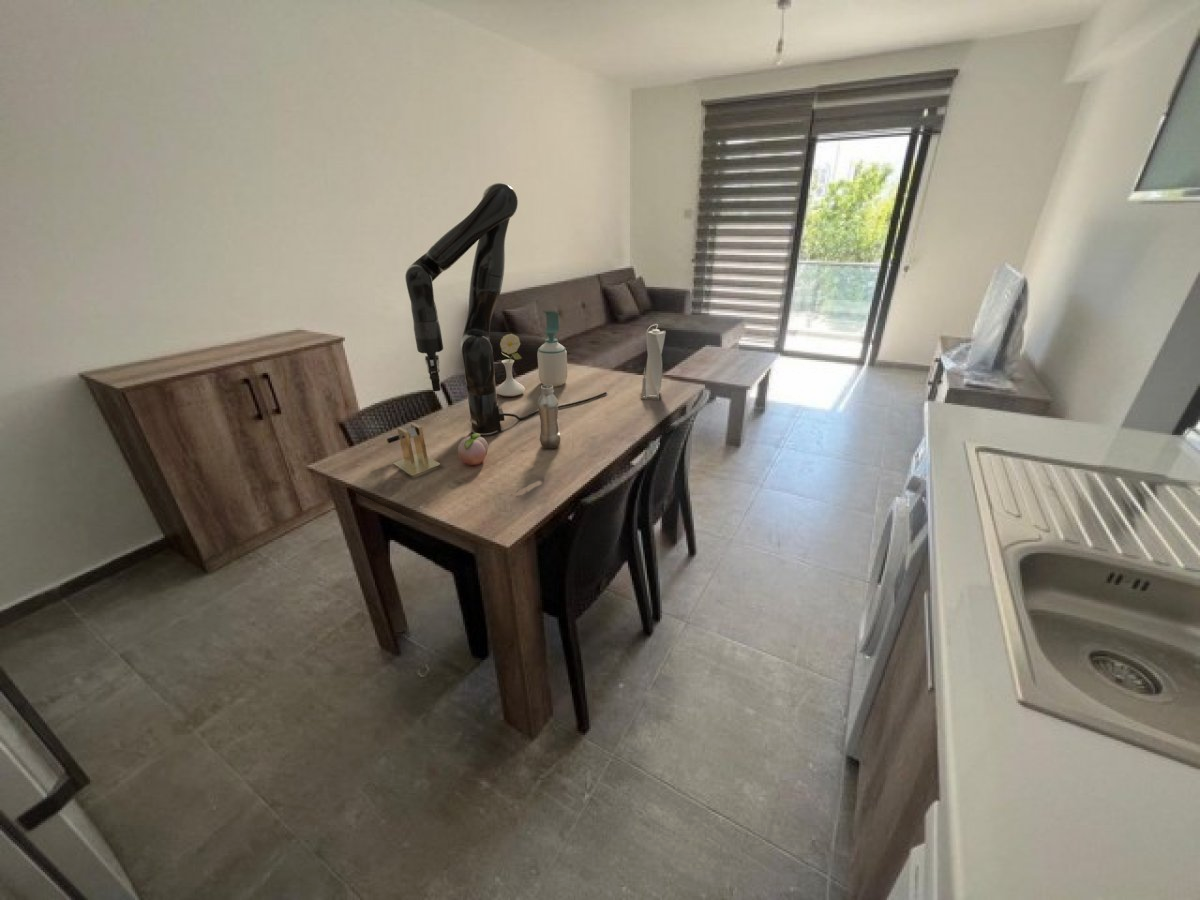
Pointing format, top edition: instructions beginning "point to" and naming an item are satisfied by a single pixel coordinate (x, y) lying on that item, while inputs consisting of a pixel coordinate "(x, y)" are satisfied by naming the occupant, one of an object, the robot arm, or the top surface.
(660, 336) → the skyscraper
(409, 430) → the lever
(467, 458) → the decorative fruit
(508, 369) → the flower in vase
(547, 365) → the soap bottle
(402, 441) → the bracket
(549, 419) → the plastic bottle
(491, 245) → the robot arm
